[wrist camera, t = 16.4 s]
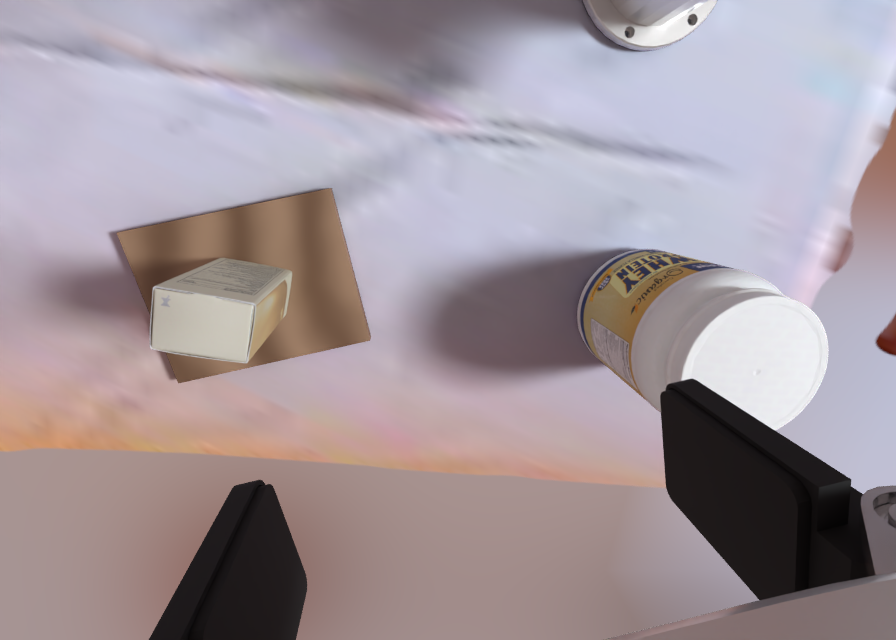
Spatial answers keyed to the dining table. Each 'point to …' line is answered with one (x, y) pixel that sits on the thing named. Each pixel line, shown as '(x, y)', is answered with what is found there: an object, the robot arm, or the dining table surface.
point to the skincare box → (219, 310)
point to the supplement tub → (703, 332)
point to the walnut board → (269, 243)
